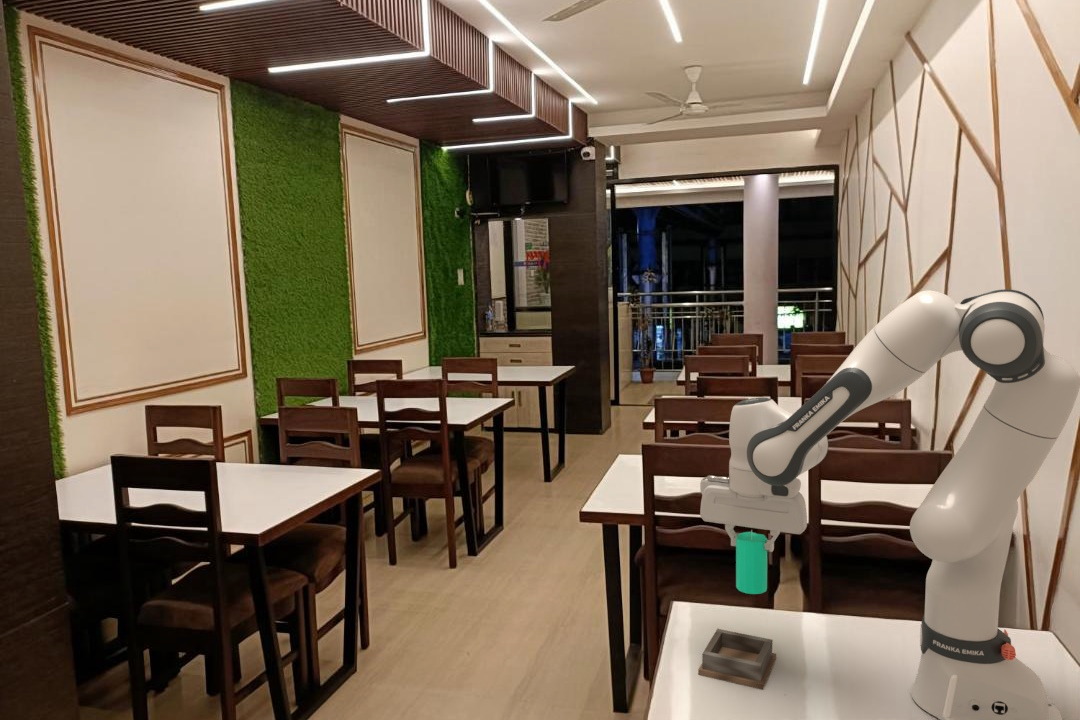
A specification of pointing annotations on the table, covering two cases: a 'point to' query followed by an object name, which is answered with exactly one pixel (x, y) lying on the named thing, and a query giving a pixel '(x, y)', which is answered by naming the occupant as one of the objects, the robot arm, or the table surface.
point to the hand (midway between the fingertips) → (752, 548)
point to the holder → (738, 658)
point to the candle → (751, 563)
